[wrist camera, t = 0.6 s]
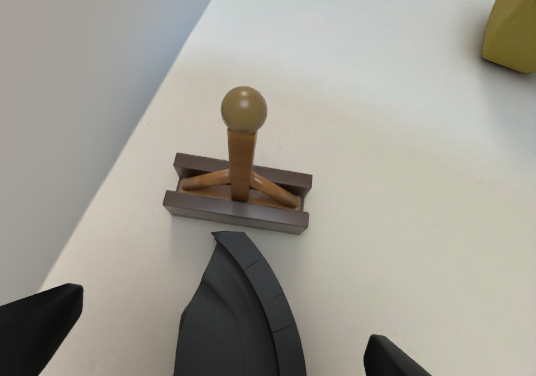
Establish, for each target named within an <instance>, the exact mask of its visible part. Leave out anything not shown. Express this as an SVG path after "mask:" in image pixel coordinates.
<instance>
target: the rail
mask: <svg viewBox="0 0 536 376" xmlns="http://www.w3.org/2000/svg"><path fill="white" fill-rule="evenodd" d="M173 166H174V168H175V170H176V172H177V174H178V176H179V177H180V178H179V182H178V186H177V190H176V191H170V190H167V191H166V193H165V197H164V201H163V206H164V207H165V208H166V209H167V210H168V211H169V212H170V214H171V215H175V216H182V217H188V218H195V219H201V220H208V221H214V222H221V223H227V224H233V225H240V226H246V227H253V228H259V229H266V230H272V231H279V232H285V233H291V234H298V235H300V234H301V233H302V232H303V231H304V230H305V229H307V228H308V222H309V213H308V212H303V204H304V197H305V196H306V195H307V193H308V192H309V191H310V189H311V187H312V175H309V174H303V173H297V172H291V171H285V170H279V169H273V168H267V167H261V166H255V165H253V169H252V171H253V172H255V173H257V174H258V175H260V176H262V177H264V178H265V179H267V180H269V181H271V182H272V183H274V184H276V185H278V186H279V187H281V188H283V189H284V190H286V191H288V192H290V193H291V194H293V195H295V196H299V197H300V208H299V211H295V210H289V209H283V208H276V207H270V206H264V205H257V204H251V203H245V202H239V201H232V200H226V199H220V198H214V197H207V196H201V195H195V194H189V193H182V192H179V188H180V183H181V180H182V178H190V177H195V176H199V175H203V174H208V173H212V172H216V171H221V170H225V169H230V166H229V161H225V160H219V159H213V158H207V157H201V156H195V155H189V154H183V153H177V154H176V157H175V161H174V164H173ZM225 185H231V183H228V184H225ZM250 189H255V188H253V187H251V186H250ZM256 190H257V189H256Z"/></svg>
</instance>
